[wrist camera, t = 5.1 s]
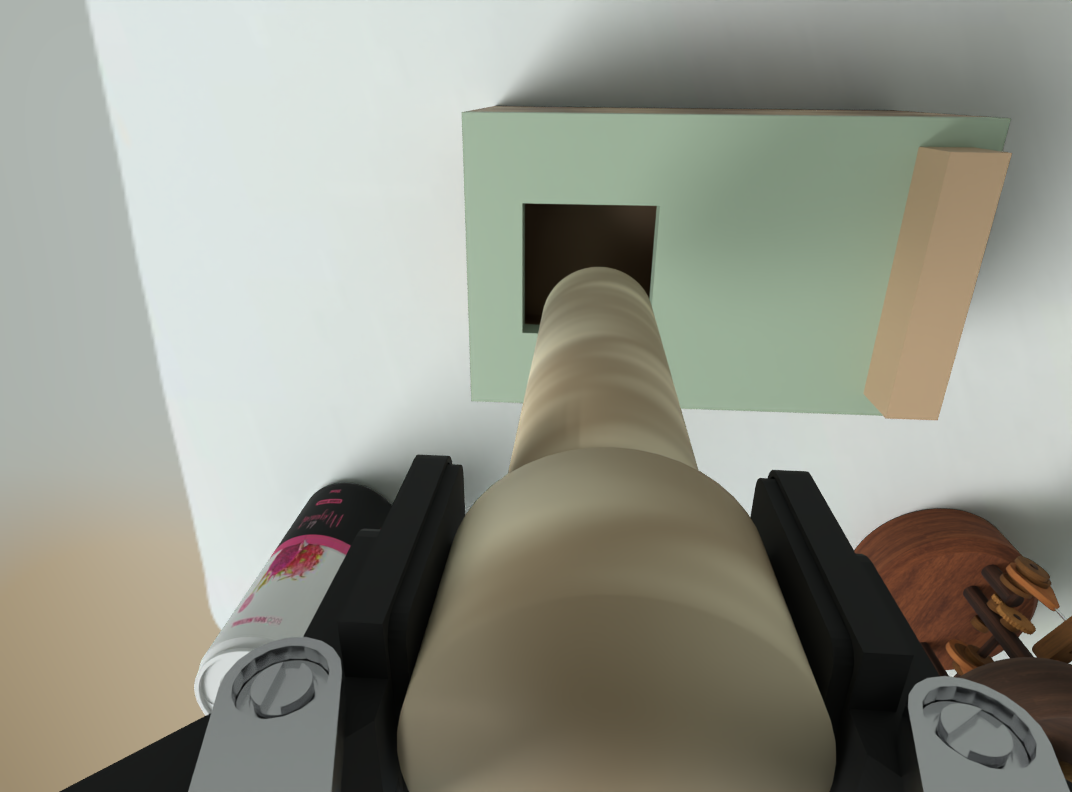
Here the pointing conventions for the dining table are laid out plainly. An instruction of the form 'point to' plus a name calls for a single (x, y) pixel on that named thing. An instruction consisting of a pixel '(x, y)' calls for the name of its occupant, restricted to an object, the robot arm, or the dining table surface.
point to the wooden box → (610, 218)
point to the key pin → (609, 597)
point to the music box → (979, 611)
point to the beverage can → (292, 579)
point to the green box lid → (752, 247)
